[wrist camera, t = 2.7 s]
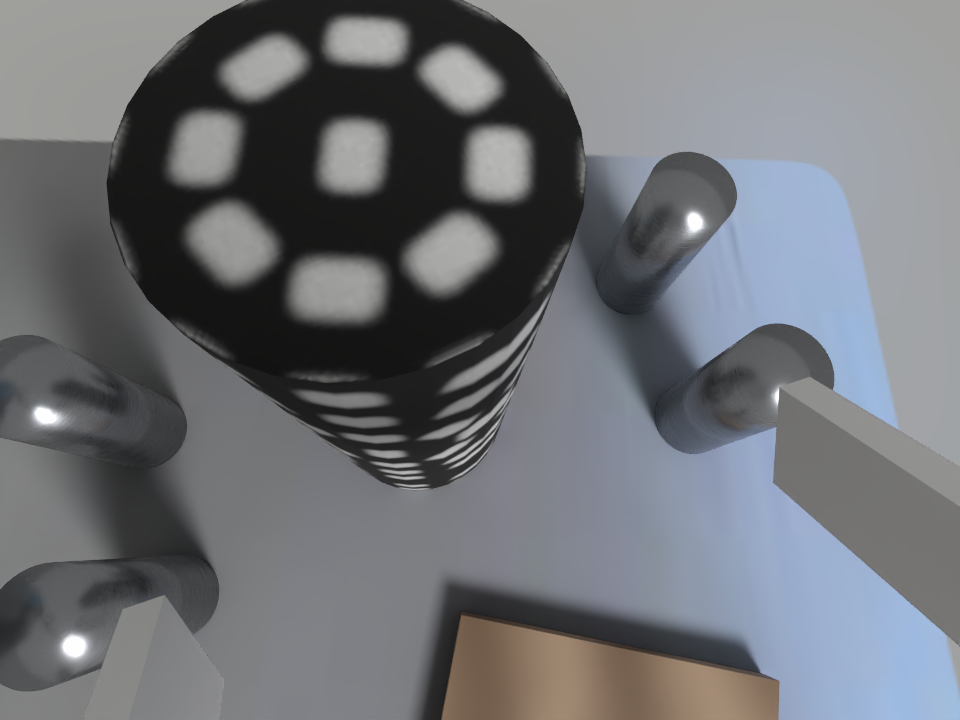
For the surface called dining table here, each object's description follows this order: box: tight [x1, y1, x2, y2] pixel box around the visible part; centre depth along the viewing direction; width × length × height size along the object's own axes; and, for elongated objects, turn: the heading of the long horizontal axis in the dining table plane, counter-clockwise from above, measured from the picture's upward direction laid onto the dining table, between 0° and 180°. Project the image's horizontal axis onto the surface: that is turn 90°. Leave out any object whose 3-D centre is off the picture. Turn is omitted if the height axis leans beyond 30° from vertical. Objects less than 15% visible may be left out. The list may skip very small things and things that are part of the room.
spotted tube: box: [107, 0, 587, 490], centre depth 20 cm, size 8×8×20 cm
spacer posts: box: [0, 152, 834, 691], centre depth 25 cm, size 30×24×9 cm
